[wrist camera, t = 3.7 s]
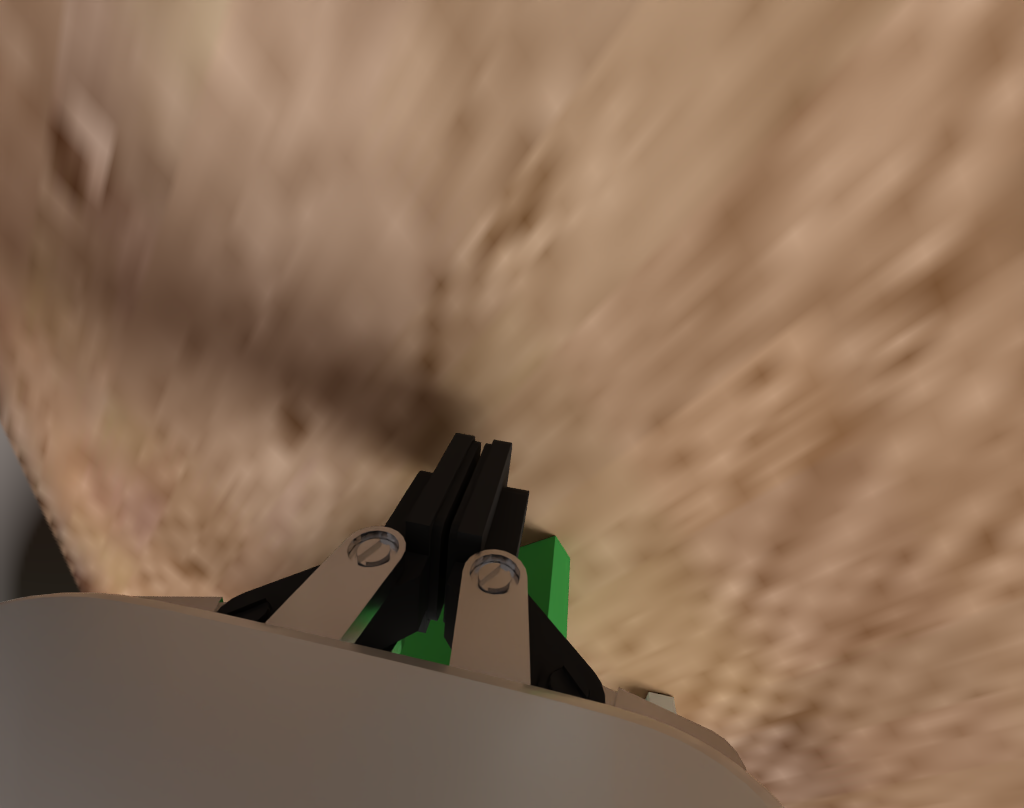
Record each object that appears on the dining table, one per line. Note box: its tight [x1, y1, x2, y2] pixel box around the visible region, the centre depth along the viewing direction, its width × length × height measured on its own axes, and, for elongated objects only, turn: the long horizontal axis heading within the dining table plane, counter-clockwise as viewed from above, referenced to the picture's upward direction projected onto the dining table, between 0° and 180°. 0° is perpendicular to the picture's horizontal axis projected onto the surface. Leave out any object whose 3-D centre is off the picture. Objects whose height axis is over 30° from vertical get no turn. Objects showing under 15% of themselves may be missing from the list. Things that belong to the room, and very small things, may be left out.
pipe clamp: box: [400, 536, 570, 666], centre depth 16 cm, size 11×4×5 cm, turn 120°
